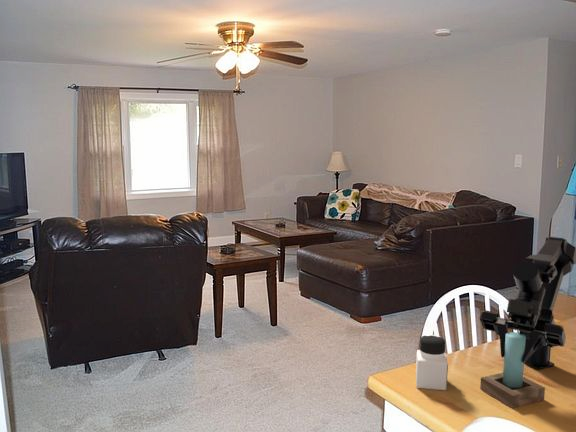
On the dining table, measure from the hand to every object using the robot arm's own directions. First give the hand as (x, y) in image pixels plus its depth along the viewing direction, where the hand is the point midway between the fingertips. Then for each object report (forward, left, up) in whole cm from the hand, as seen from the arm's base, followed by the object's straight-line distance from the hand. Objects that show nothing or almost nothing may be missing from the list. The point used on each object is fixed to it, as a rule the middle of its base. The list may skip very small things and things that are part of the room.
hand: (512, 359), depth 126 cm
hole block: (-1, -1, -9) cm, 9 cm away
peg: (-1, -1, -7) cm, 7 cm away
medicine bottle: (+13, -13, -9) cm, 21 cm away
